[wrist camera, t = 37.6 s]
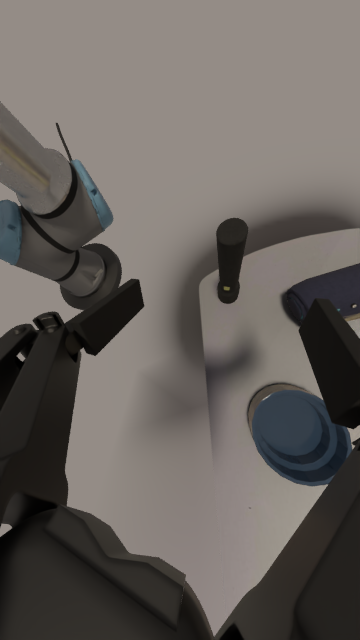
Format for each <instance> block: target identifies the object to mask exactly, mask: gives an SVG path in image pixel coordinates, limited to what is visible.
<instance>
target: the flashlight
mask: <svg viewBox="0 0 360 640" xmlns="http://www.w3.org/2000/svg"><path fill="white" fill-rule="evenodd" d="M247 234H248V227H247V224H246V223H245V222H244V221H243V220H241V219H239V218H230V219H227V220H225V221H224V222H222V223H221V224H220V225H219V227H218V229H217V233H216V236H217V250H218V263H219V277H220V281H219V283H218V297H219V299H220V301H222V302H223V303H226V304H229V303H233V302H234V301H235V300H236V299H237V297H238V294H239V289H240V285H239V282H238V279H239V274H240V269H241V264H242V259H243V254H244V248H245V243H246V239H247Z"/></svg>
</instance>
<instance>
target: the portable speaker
mask: <svg viewBox="0 0 360 640" xmlns="http://www.w3.org/2000/svg"><path fill="white" fill-rule="evenodd" d="M286 294H287V300H288V305H289V307H290V310H291V312H292V314H293V315H294V316H295V317H296V318H297V319H298V320H299V321H300V322H301V323H303V321H304V319H305V317H306V315H307V313H308V311H309V309H310V307H311V305H312V303H313V301H314V299H315V298H322V299H329V300H330V301H331V302H332V304H333V305H334V306H335V307H336V309H337V310H338V311H339V313H340V314H341V315H342V317H343V318H344V319H345V320H346V321H350V320H354V319H359V318H360V263H359V264H356V265H352V266H349V267H346V268H342V269H339V270H336V271H332V272H329V273H326V274H322V275H319V276H316V277H312V278H309V279H306V280H304V281H302V282H300V283H298V284H296V285H294V286H292V287H291V288H290V289H289V290H288V291H287V293H286Z"/></svg>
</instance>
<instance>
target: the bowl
mask: <svg viewBox="0 0 360 640" xmlns="http://www.w3.org/2000/svg"><path fill="white" fill-rule="evenodd" d="M248 420H249V427H250V430H251V433H252V436H253V439H254V442H255V445H256V447H257V450H258V452H259V453H260V455H261V456H262V458H263V459H264V460H265V462H266V463H267V465H269V466H270V467H271V468H272V469H273V470H274V471H275V472H277V473H278V474H279V475H280V476H282V477H284V478H286V479H288V480H290V481H292V482H294V483H297V484H302V485H307V486H319V485H326V484H329V483H330V481H331V480H332V479H333V477H334V476H335V474H336V473H337V472H338V470H339V469H340V467H341V466H342V464H343V463H344V462H345V460H346V459H347V457H348V456H349V454H350V453H351V452H352V445H351V439H350V434H349V431H348V429H347V427H344V426H341V425H337V424H333V423H332V422H331V419H330V417H329V414H328V411H327V408H326V406H325V403H324V401H323V400H322V399H320V398H319V397H317V396H315V395H313V394H312V393H310V392H308V391H306V390H304V389H301V388H298V387H295V386H292V385H286V384H276V385H272V386H268V387H266V388H264V389H263V390H261V391H260V392H258V393H257V394H256V396H255V397H254V398H253V400H252V401H251V404H250V407H249V411H248Z"/></svg>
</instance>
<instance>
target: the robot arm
mask: <svg viewBox="0 0 360 640" xmlns="http://www.w3.org/2000/svg"><path fill="white" fill-rule="evenodd" d="M56 126H57V129H58V132H59V135H60V138H61V140H62V143H63V145H64V147H65V150H66V152H67V154H68V157H69V160H70V163H69V162H68V161H67V159H66V158H65V157H64V156H63V155H62V154H61V153H60V152H58V151H56V150H53V149H47V148H43V147H42V145H41V144H40V143H39V142H38V141H37V140H36V139H35V138H34V137H33V136H32V135H31V134H30V133H29V132H28V131H27V130H26V128H25V127H24V126H23V125H22V124H21V123H20V122H19V121H18V120H17V119H16V118H15V117H14V116H13V115H12V114H11V112H10V111H8V109H7V108H6V107H5V106H4V105H3V104H2V103H1V102H0V182H1V183H2V184H4V185H6V186H7V187H8V188H10V189H12V190H13V191H14V192H16V195H17V197H18V200H19V202H20V203H21V206H18V205H17V204H16V203H15V202H12V201H10V200H2V201H0V259H2V260H4V261H6V262H8V263H10V264H11V265H15V266H17V267H20V268H22V269H25V270H28V271H30V272H33V273H36V274H38V275H40V276H43V277H46V278H48V279H51V280H53V281H56V282H57V283H59V284H60V285H61V286H62V287H64V288H65V289H66V290H67V291H68V292H69V293H71V294H73V295H75V296H78V297H88V296H91V295H93V294H94V293H96V292H97V291H98V290H99V289H100V288H101V286H102V285H103V283H104V281H105V278H106V274H107V266H106V263H105V261H104V259H103V258H102V257H101V256H99V255H98V254H97V253H95V252H93V251H89V250H85V249H83V248H82V246H83V245H85V244H86V243H87V242H89V241H90V240H92V239H93V238H94V237H96V236H97V235H99V234H100V233H102V232H103V231H105V229H106V228H107V227H108V226H109V225H111V223H112V222H113V215H112V212H111V210H110V208H109V207H108V205H107V203H106V201H105V200H104V198H103V196H102V195H101V193H100V192H99V190H98V188H97V186H96V185H95V183H94V182H93V180H92V178H91V177H90V175H89V174H88V172H87V171H86V169H85V168H84V166H83V165H82V163H81V162H80V161H79V160H72V158H71V156H70V153H69V150H68V148H67V146H66V144H65V141H64V139H63V137H62V134H61V131H60V128H59V125H58V123H56ZM143 307H144V303H143V297H142V293H141V287H140V282H139V280H138V279H130V280H129V281H127V282H126V283H125V284H123V285H122V286H120V287H119V288H117V289H116V290H114V291H113V292H111V293H110V294H108V295H107V296H105V297H104V298H102V299H101V300H99V301H98V302H97V303H95V304H94V305H91V306H90V307H88V308H87V309H86V310H84V311H83V312H81V313H80V314H78V315H77V316H75V317H74V318H72V319H71V320H69V321H68V322H66V323H65V324H64V322H63V320H62V319H61V317H60V315H59V314H58V313H57V312H48V313H43V314H41V315H39V316H37V317H36V318H34V319H33V322H34V323H35V325H36V326H37V328H38V329H39V330H35V328H34V327H33V326H32V325H31V324H23V325H19V326H16V327H14V328H12V329H11V330H9V331H8V332H7V333H6V334H4V335H3V336H2V337H1V338H0V526H1V523H3V524H9V525H11V526H12V529H11V530H9V531H8V532H6V533H5V534H4V535H2V536H1V537H0V640H360V438H359V439H357V440H355V441H354V442H352V444H353V445H354V446H355V445H356V446H355V447H354V449H353V450H352V452H351V453H350V454H349V456H348V457H347V459H346V460H345V462H344V463H343V464H342V466H341V467H340V469H339V470H338V472H337V473H336V474H335V476H334V477H333V479H332V480H331V481H330V483H329V484H328V486H327V487H326V489H325V490H324V491H323V493H322V494H321V496H320V497H319V499H318V500H317V501H316V503H315V504H314V506H313V507H312V509H311V510H310V511H309V513H308V514H307V516H306V517H305V519H304V520H303V521H302V523H301V524H300V526H299V527H298V529H297V530H296V531H295V533H294V534H293V536H292V537H291V539H290V540H289V541H288V543H287V544H286V546H285V547H284V549H283V550H282V551H281V553H280V554H279V556H278V557H277V559H276V560H275V561H274V563H273V564H272V566H271V567H270V569H269V570H268V571H267V573H266V574H265V576H264V577H263V578H262V580H261V581H260V582H259V583H258V584H257V585H256V586H255V587H254V588H253V589H251V590H250V591H249V592H248V593H247V594H246V595H245V596H244V597H243V598H242V599H241V601H240V602H239V603H238V605H237V606H236V607H235V609H234V610H233V612H232V613H231V614H230V616H229V617H228V618H227V620H226V621H225V623H224V624H223V625H222V627H221V628H220V630H219V631H218V633H217V634H216V635H215V637H214V636H213V633H212V630H211V627H210V625H209V622H208V619H207V617H206V614H205V612H204V610H203V608H202V606H201V604H200V602H199V600H198V598H197V596H196V595H195V593H194V591H193V590H192V588H191V587H190V586H189V584H188V583H187V582H186V581H185V577H186V575H185V574H184V573H182V572H181V571H179V570H177V569H176V568H174V567H173V566H171V565H170V564H168V563H166V562H165V561H163V560H162V559H160V558H158V557H151V556H143V555H136V554H131V553H129V552H128V551H127V550H126V548H125V547H124V546H123V544H122V543H121V541H120V540H119V538H118V537H117V536H116V534H115V532H114V531H113V529H112V528H111V527H110V526H109V525H107V524H106V523H104V522H103V521H101V520H100V519H98V518H96V517H95V516H93V515H92V514H90V513H87V512H84V511H80V510H77V509H74V508H70V507H67V498H68V482H67V478H66V475H65V463H66V457H67V450H68V443H69V435H70V429H71V422H72V414H73V409H74V402H75V395H76V388H77V381H78V374H79V368H80V361H81V352H80V349H82V348H84V349H85V351H86V353H88V354H91V355H94V356H96V355H97V354H98V353H99V352H100V351H101V350H102V349H103V348H104V347H105V346H106V345H107V344H108V343H109V342H110V341H111V339H113V338H114V337H115V335H117V334H118V333H119V331H120V330H122V328H123V327H124V326H125V325H126V324H127V323H128V322H129V321H130V320H131V319H132V318H133V317H134V316H135V315H136V314H137V313H138V312H139V311H140V310H141V309H142V308H143ZM299 333H300V336H301V339H302V342H303V344H304V347H305V350H306V353H307V355H308V358H309V361H310V364H311V367H312V369H313V372H314V375H315V378H316V380H317V383H318V386H319V389H320V392H321V394H322V397H323V400H324V403H325V406H326V408H327V411H328V414H329V417H330V419H331V422H332V423H333V424H337V425H341V426H344V427H348V428H351V429H354V428H356V427H357V426H359V425H360V339H359V337H358V336H357V335H356V333H355V332H354V331H353V330H352V328H351V327H350V326H349V324H348V323H347V322H346V320H345V319H344V318H343V317H342V315H341V314H340V313H339V311H338V310H337V309H336V307H335V306H334V305H333V304H332V302H331V301H330V300H329V299H322V298H315V299H314V301H313V303H312V305H311V307H310V309H309V311H308V313H307V315H306V317H305V319H304V321H303V323H302V325H301V327H300V329H299ZM19 352H21V354H22V355H23V356H24V357H25V358H26V359H25V360H24V361H23V362H22V361H20V359H19V358H18V357H17V355H18V353H19ZM184 583H185V584H184ZM183 589H184V590H183ZM182 595H183V596H182ZM181 601H182V602H181Z"/></svg>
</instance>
